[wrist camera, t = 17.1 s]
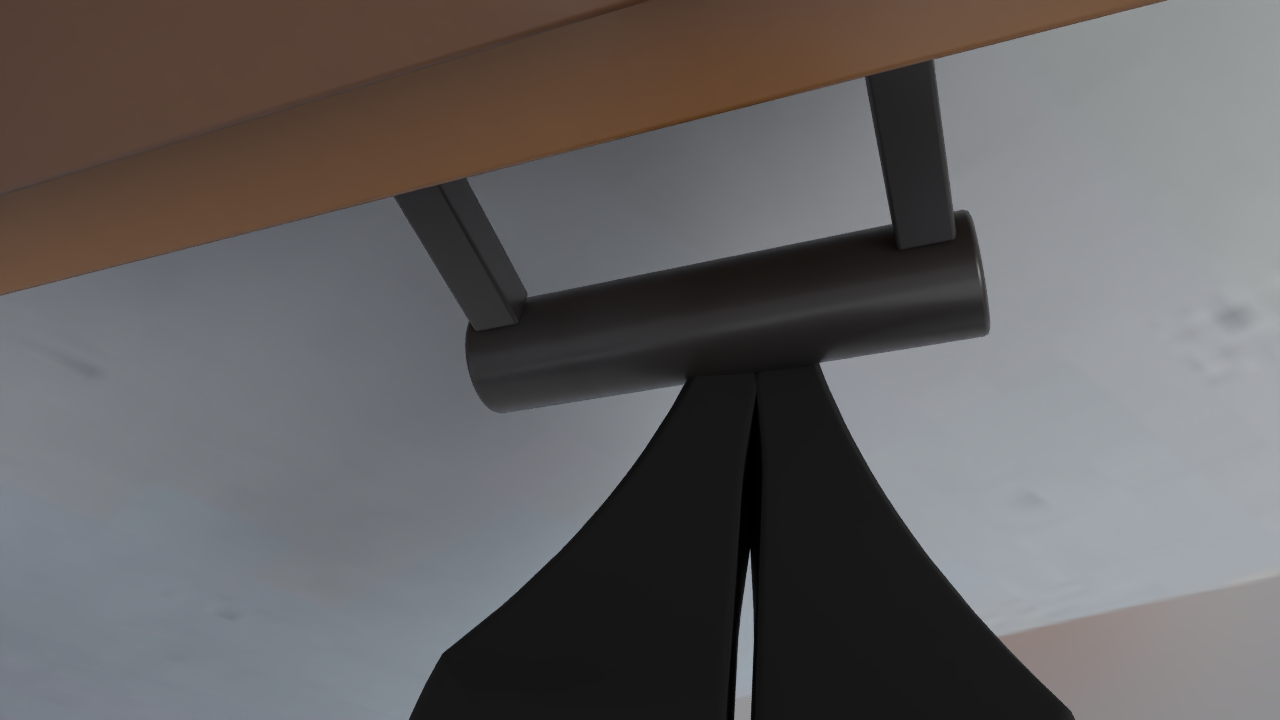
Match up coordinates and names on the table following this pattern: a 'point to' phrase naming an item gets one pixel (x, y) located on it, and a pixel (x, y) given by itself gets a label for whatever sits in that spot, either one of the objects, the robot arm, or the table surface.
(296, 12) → the cabinet
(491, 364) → the drawer
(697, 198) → the table surface
